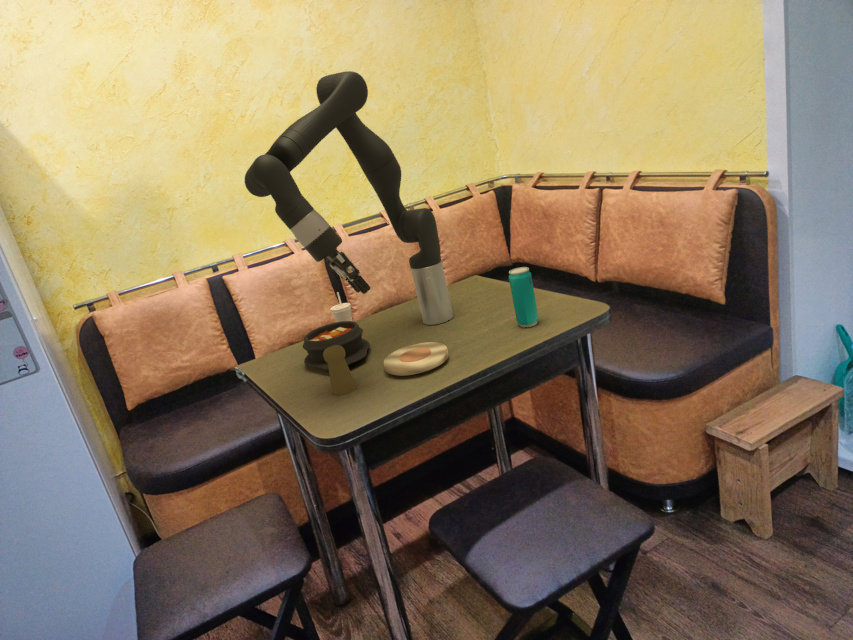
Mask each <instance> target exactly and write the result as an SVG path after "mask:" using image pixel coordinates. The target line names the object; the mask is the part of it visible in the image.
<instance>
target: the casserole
mask: <svg viewBox="0 0 853 640" xmlns="http://www.w3.org/2000/svg"><path fill="white" fill-rule="evenodd" d="M363 333H364V329H363V328H362V327H361V326H360V325H359V324H358V322H356V321H354V320H352V321H342V322H336V321H335V322H332V323H329V324H325V325H322V326H319V327H317V328H315V329H312V330H310V332H308V333H306V335H305V336H304V337H303V344H302V349H303V350H305V351H306V352H307V355H306V357H305V358H304V361H303V362H304V365H306V366H308V367H312V368H318V369H322V370H325V371H329V368H328V363H327V362H326V361H325V360H324V357H323V352H324V350H325V349H326V348H328V347H331V346H334V345H340V346H342V347H343V348H344V350H345V361H346V363H347V365H348V366H349V365H352V364H355V363H357V362H359V361H361V360H362V359H364V358H366V357H367V355H368V354H367V353H368V350H369V348H370V345H371V343H370V342H369V341H368V340H366V339H364V338H363V337H362V335H363Z"/></svg>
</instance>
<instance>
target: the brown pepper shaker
mask: <svg viewBox="0 0 853 640" xmlns="http://www.w3.org/2000/svg"><path fill="white" fill-rule="evenodd" d="M323 357H324V360H325V361H326V362H327V363H328V368H329V370H328V374H329V380H330V388H331V394H332V395H334V396H342V395H346V394H349V393H351V392H353V391H355V390H356V389H357V384H356V381H355V379H354V377H353V375H352V372H351V370H350V368H349V365H347V363H346V361H345V350H344V348H343V347H342V346H340V345H334V346H331V347H328V348H326V349H325V350H324V352H323Z"/></svg>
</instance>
